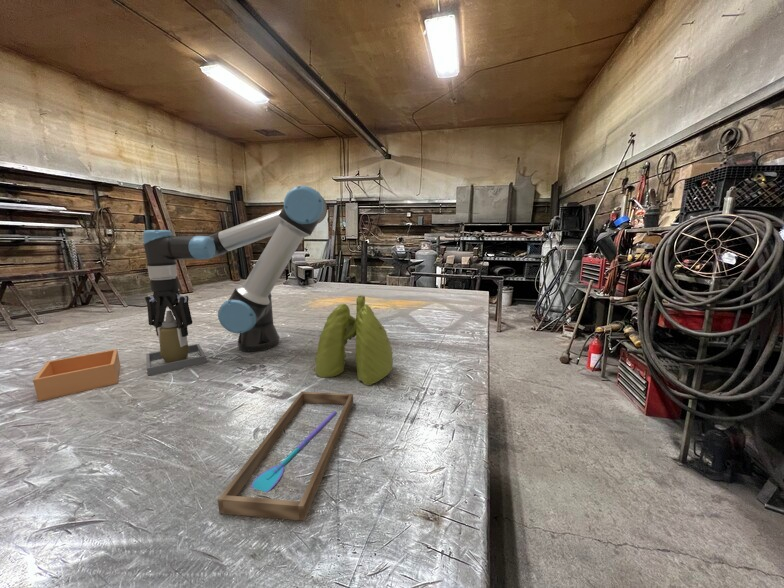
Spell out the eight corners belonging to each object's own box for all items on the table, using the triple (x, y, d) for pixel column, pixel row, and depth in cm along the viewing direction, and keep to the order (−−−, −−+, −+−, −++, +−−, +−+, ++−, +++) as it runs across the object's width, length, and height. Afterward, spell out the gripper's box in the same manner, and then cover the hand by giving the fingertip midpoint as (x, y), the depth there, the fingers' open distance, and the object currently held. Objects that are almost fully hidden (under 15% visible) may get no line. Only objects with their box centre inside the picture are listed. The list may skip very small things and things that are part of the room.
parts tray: (199, 349, 115) (198, 343, 114) (206, 362, 103) (205, 355, 102) (147, 360, 105) (146, 353, 105) (148, 376, 93) (146, 368, 93)
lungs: (400, 367, 98) (399, 294, 94) (381, 389, 84) (379, 305, 79) (333, 356, 107) (330, 290, 103) (306, 375, 93) (301, 298, 88)
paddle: (266, 498, 50) (265, 492, 49) (246, 492, 51) (245, 486, 51) (339, 414, 73) (339, 410, 73) (324, 411, 74) (324, 407, 74)
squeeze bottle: (196, 357, 107) (189, 308, 104) (178, 367, 100) (170, 314, 96) (175, 356, 108) (167, 307, 105) (155, 366, 100) (147, 313, 97)
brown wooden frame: (353, 403, 77) (353, 394, 77) (304, 520, 45) (303, 506, 45) (302, 400, 78) (301, 391, 78) (219, 513, 47) (217, 499, 46)
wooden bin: (120, 366, 101) (117, 349, 100) (117, 383, 89) (113, 364, 88) (51, 380, 91) (47, 361, 90) (38, 401, 79) (32, 380, 78)
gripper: (200, 276, 101) (208, 342, 106) (147, 276, 103) (157, 340, 107) (182, 280, 94) (192, 350, 98) (125, 279, 96) (137, 348, 100)
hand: (174, 345), depth 103 cm, fingers closed on squeeze bottle, 6 cm apart
